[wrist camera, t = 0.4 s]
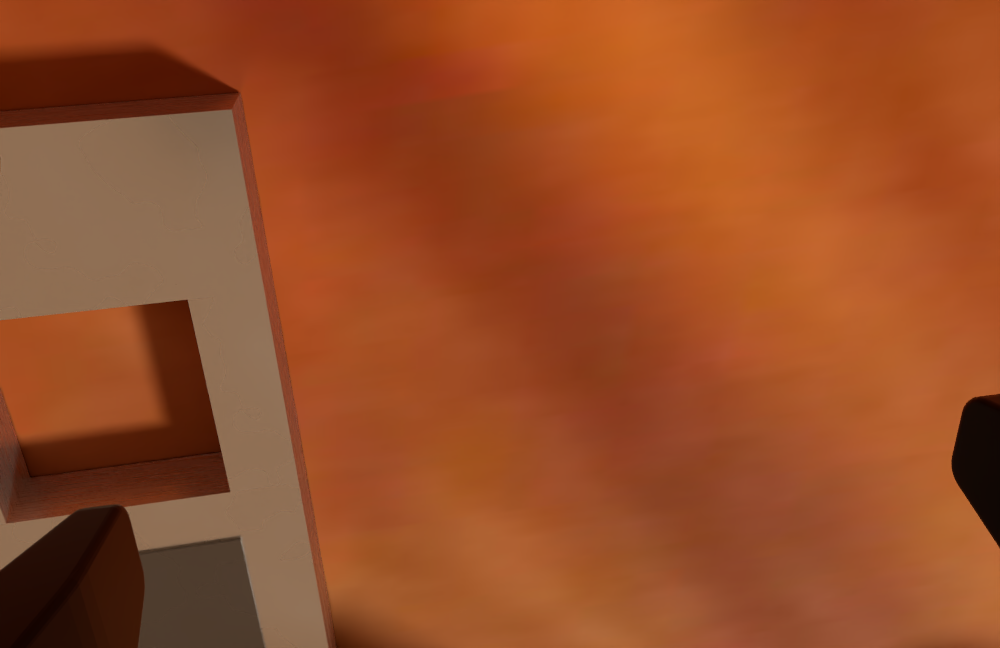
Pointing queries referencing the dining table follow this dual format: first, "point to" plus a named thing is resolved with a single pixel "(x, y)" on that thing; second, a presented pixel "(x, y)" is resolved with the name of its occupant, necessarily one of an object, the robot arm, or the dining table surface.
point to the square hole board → (222, 346)
